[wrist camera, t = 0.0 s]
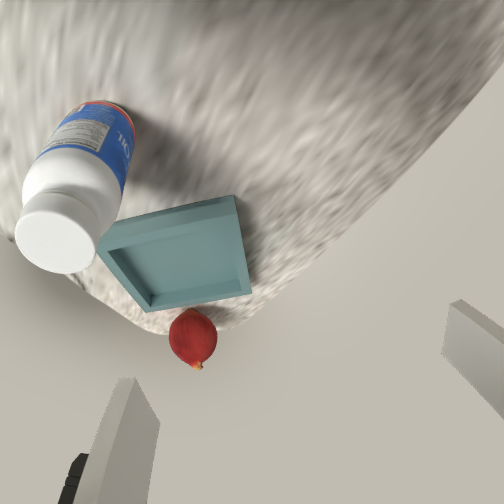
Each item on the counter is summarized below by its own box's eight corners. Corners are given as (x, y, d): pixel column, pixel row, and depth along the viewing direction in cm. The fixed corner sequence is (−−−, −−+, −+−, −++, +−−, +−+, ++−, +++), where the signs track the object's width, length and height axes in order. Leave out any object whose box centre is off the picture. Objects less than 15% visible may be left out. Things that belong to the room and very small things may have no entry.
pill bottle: (132, 170, 19) (113, 289, 13) (63, 164, 17) (18, 279, 11) (143, 100, 15) (111, 205, 9) (63, 95, 13) (-13, 197, 7)
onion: (189, 323, 39) (194, 379, 34) (158, 310, 35) (160, 372, 30) (222, 308, 37) (231, 368, 32) (191, 293, 33) (198, 359, 28)
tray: (95, 227, 22) (91, 246, 21) (233, 194, 23) (237, 213, 22) (145, 296, 32) (145, 312, 31) (248, 277, 32) (252, 293, 31)
